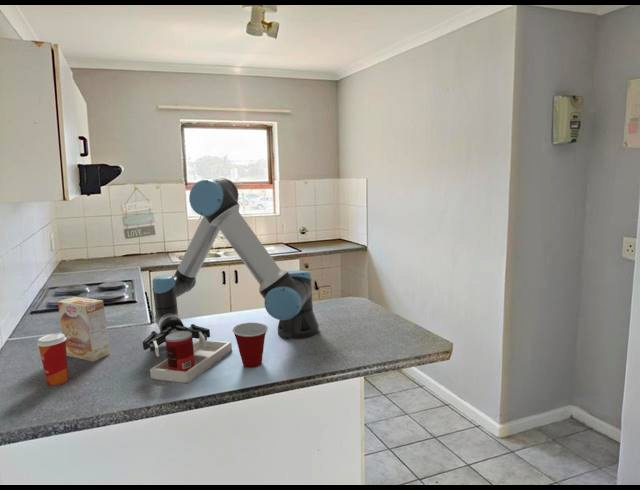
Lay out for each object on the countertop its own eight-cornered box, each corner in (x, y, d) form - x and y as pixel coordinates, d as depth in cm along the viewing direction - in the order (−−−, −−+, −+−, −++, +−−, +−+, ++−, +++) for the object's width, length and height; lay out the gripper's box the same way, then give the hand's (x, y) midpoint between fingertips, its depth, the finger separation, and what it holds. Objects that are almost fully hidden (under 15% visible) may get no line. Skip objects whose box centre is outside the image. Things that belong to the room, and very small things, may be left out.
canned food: (198, 364, 147) (195, 330, 145) (189, 375, 139) (185, 339, 137) (175, 364, 147) (171, 330, 146) (164, 375, 140) (160, 340, 138)
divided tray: (199, 347, 163) (198, 339, 162) (232, 350, 158) (231, 342, 158) (151, 378, 139) (150, 369, 139) (187, 383, 135) (186, 373, 134)
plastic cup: (255, 374, 139) (252, 335, 137) (228, 367, 144) (224, 330, 142) (277, 360, 148) (274, 324, 146) (251, 355, 153) (248, 320, 151)
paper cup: (50, 377, 144) (44, 333, 142) (76, 374, 145) (70, 331, 143) (38, 388, 137) (30, 343, 135) (65, 386, 137) (58, 341, 135)
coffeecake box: (64, 355, 162) (56, 301, 159) (83, 348, 168) (75, 296, 165) (92, 362, 155) (84, 305, 152) (111, 354, 161) (104, 299, 158)
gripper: (209, 330, 164) (223, 350, 145) (133, 345, 153) (138, 368, 134) (207, 310, 162) (221, 327, 143) (130, 323, 152) (135, 343, 133)
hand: (181, 347), depth 139 cm, fingers open, 13 cm apart
